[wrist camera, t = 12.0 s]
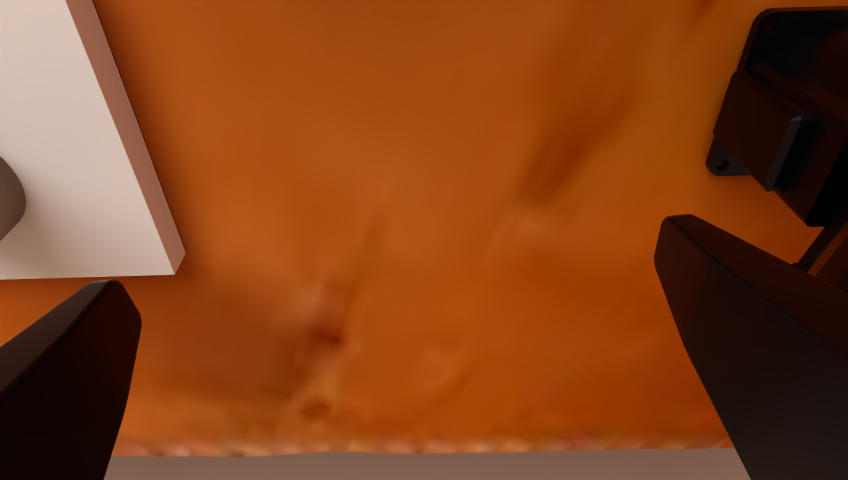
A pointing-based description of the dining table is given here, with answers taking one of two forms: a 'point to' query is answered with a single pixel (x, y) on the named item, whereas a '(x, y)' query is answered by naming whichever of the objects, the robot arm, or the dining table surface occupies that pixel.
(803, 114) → the robot arm
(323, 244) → the dining table surface
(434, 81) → the dining table surface
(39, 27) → the stone slab
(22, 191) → the walnut roller
